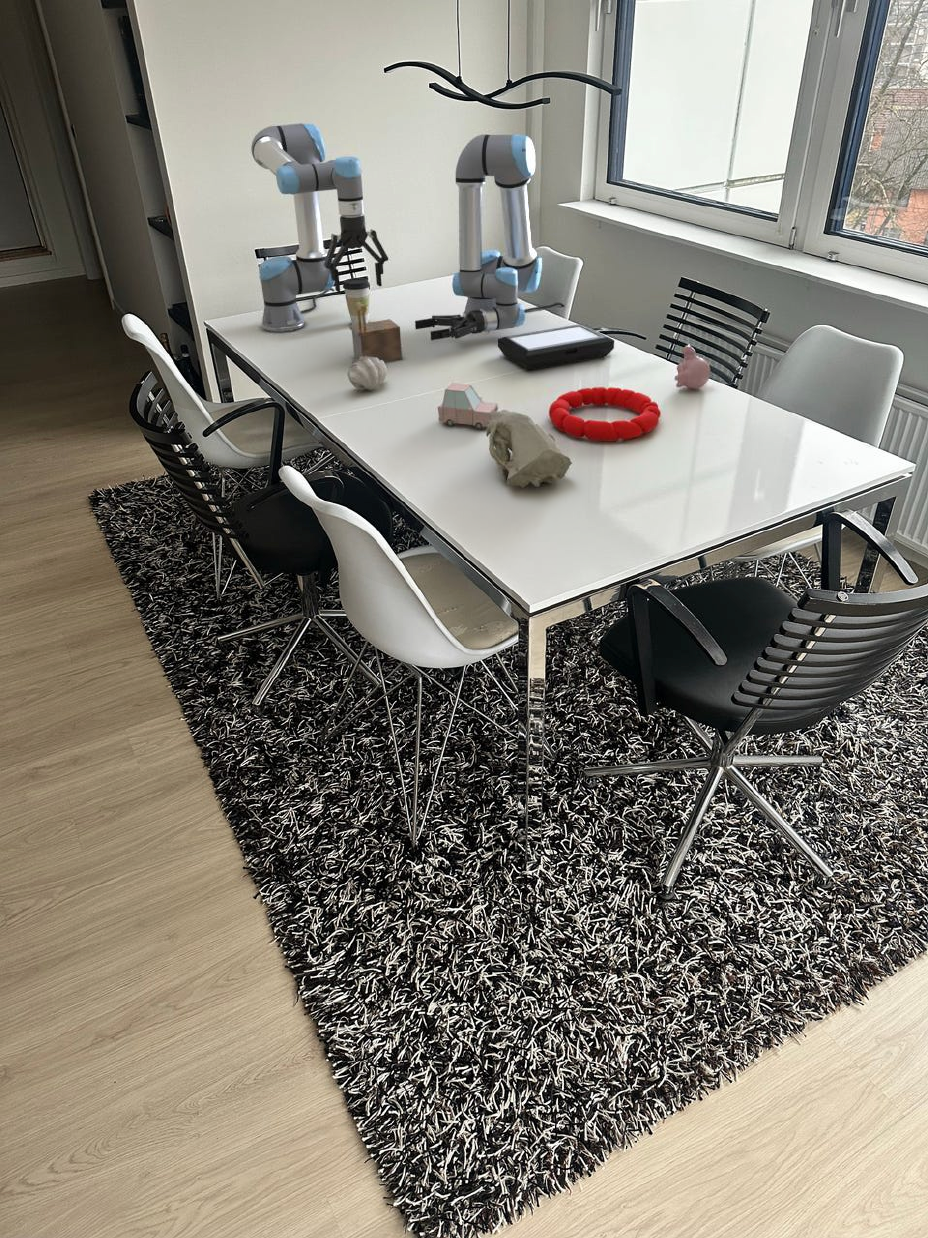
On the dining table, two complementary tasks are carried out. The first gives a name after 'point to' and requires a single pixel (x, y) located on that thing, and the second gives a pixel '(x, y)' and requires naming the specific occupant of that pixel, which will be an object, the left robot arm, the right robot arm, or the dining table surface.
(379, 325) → the lid
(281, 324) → the left robot arm
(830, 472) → the dining table surface
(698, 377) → the figurine
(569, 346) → the electronic device
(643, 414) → the decorative ring
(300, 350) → the dining table surface
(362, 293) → the coffee cup
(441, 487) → the dining table surface
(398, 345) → the chest
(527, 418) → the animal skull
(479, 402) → the toy car
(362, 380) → the seashell
